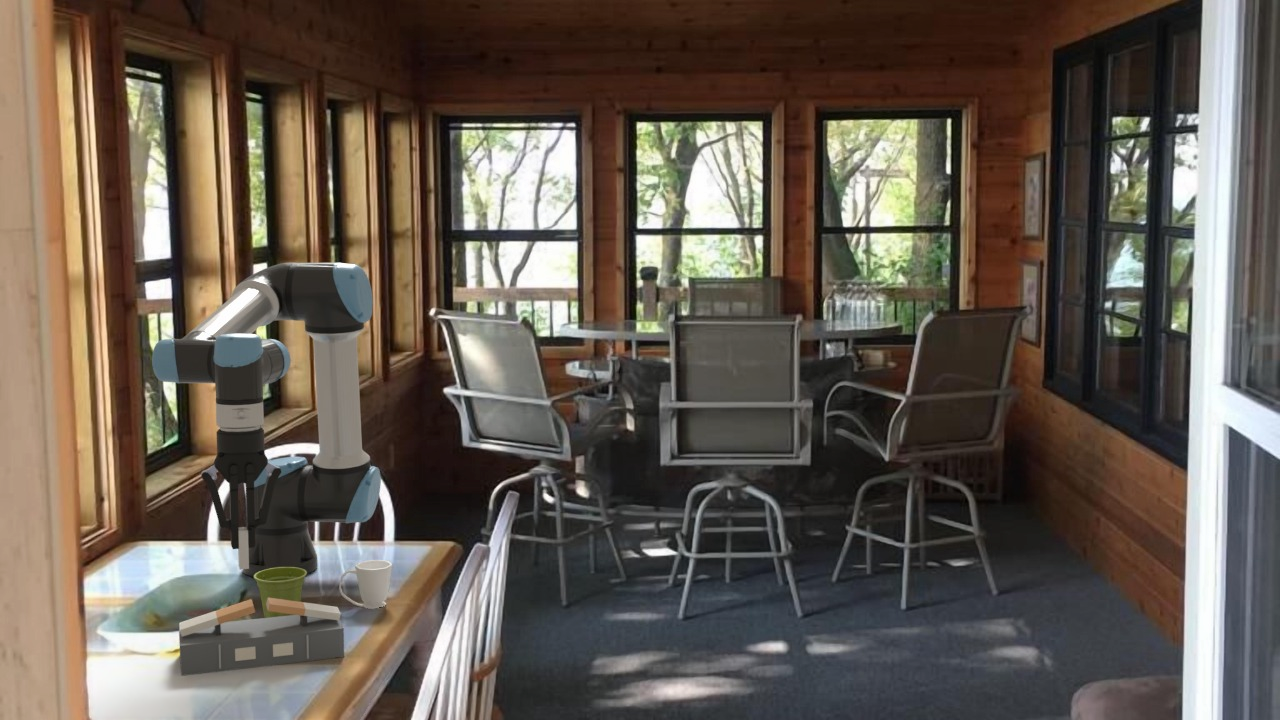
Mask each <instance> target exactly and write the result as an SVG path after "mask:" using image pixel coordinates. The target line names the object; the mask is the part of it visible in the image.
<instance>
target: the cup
mask: <svg viewBox="0 0 1280 720" xmlns="http://www.w3.org/2000/svg"><path fill="white" fill-rule="evenodd" d="M354 567H355V569H348V570H346V571H345V572H343V574H342V575H341V577H340V580H339V587H338V588H339V589H338V590H339V593H340V595H341V596H342V597H343V598H344V599H345V600H346V601H348V602H349V603H352V604H353V605H355V606H356V607H357V606H358V607H360V608H361V607H363V608H364V609H367V608H368V609H369V610H375V609H374V608H378V609H380V608H379V607H383V606H384V607H386V606H387V603H386V602H385V601H386V600H387V599H388V594H389V590H390V584H391V576H392V571H393V563H391V562H390V561H388V560H383V559H382V560H381V559H372V560H371V559H370V560H364V561H360V562H359V563H357V564H355V565H354ZM347 574H354V575H356V578H357V579H356V580H357V585H358V591H359V595H360V598H361V600H362V601H363V603H360V602H356V601H355V600H353V599H351V598H350V597H349V596H347V595H346V594H345V593H344V592H343V589H342V582H343V578H345V576H346V575H347ZM385 605H386V606H385ZM384 607H383V608H384Z"/></svg>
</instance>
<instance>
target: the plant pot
mask: <svg viewBox="0 0 1280 720" xmlns="http://www.w3.org/2000/svg"><path fill="white" fill-rule="evenodd" d="M307 574H308V573H307V571H306V570H304V569H301V568H296V567H277V568H270V569H265V570H262V571H259V572H257V573H256V574H255V575H254V577H253V579H254V580H255V581H256V585H257V587H258V590H259V594H260V600H261V606H262V612H263V617H264V618H270V617H280V616H290V615H294V614H286V613H279V612H271V611H268V609H267V605H266V602H267V598H268V597H269V598H276V599H283V600H291V601H298V602H302V591H303V584H304V582H305V578H306V577H307Z"/></svg>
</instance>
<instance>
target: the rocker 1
mask: <svg viewBox="0 0 1280 720" xmlns="http://www.w3.org/2000/svg"><path fill="white" fill-rule="evenodd" d="M255 613H256V610H255V606H254V603H253V599H252V598H250V599H247V600H244V601H241V602H238V603H235V604H232V605H229V606H226V607H223V608H219V609H217V610H213V611H211V612H208V613H205V614H202V615H199V616H195V617H193V618H190V619H186V620H183V621H181V622H178V623H179V627H180V632H181V635H182V637H183V636H186V635H189V634H192V633H195V632H198V631H201V630H204V629H207V628H210V627H213V626H216V625H219V624H222V623H225V622H231V621H235V620H236V619H239V618H242V617H246V616H248V615H251V614H255Z"/></svg>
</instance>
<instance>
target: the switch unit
mask: <svg viewBox="0 0 1280 720" xmlns="http://www.w3.org/2000/svg"><path fill="white" fill-rule="evenodd" d="M340 619H341V618H340ZM340 619H339V620H331V619H324V618H316V617H309V616H301V615H290V616H280V617H270V618H263V617H262V618H253V619H244V620H243V619H242V620H231V621H228V622H225V623H222V624H219V625H216V626H213V627H210V628H207V629H204V630H201V631H198V632H195V633H192V634H189V635H186V636H183V637H182V635H181V632H180V626H179V627H178V636H179V637H178V638H179V640H178V641H179V643H178V644H179V661H180V675H181V676H188V675H198V674H205V673H206V674H207V673H215V672H222V671H233V670H240V669H241V670H242V669H250V668H258V667H259V668H260V667H268V666H276V665H286V664H294V663H303V662H309V661H310V662H313V661H320V660H329V659H336V658H335V657H339V658H343V657H342V656H344V657H345V632H344V631H345V630H344V626H343V623H342V622H341V620H340Z"/></svg>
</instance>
